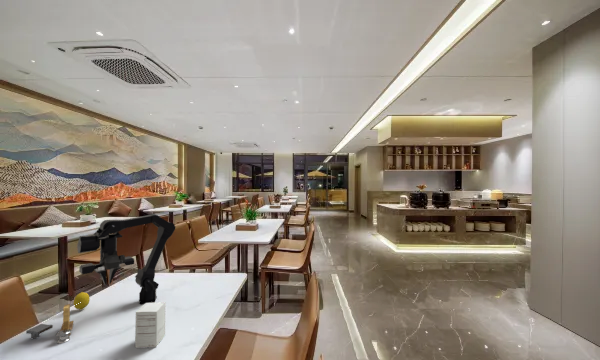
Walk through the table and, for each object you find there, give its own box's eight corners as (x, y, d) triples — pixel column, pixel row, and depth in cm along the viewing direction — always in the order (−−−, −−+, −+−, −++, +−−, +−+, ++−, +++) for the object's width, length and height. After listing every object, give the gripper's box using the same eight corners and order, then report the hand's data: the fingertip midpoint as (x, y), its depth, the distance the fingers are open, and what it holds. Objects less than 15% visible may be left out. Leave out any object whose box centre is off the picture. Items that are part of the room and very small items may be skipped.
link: (70, 335, 94) (71, 308, 95) (58, 338, 93) (59, 311, 93) (73, 324, 102) (74, 299, 102) (62, 327, 100) (63, 301, 100)
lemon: (80, 313, 112) (80, 295, 112) (69, 312, 113) (70, 294, 113) (92, 307, 117) (93, 290, 117) (82, 306, 118) (83, 289, 118)
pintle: (73, 336, 95) (73, 328, 95) (68, 342, 91) (68, 334, 91) (59, 338, 93) (59, 330, 93) (53, 345, 89) (53, 336, 90)
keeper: (52, 334, 95) (52, 325, 96) (37, 342, 91) (38, 331, 91) (40, 333, 96) (41, 323, 96) (25, 341, 92) (26, 330, 92)
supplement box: (145, 336, 95) (146, 302, 95) (165, 335, 96) (166, 301, 96) (134, 348, 88) (134, 311, 88) (156, 347, 88) (157, 311, 89)
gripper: (85, 256, 100) (84, 296, 99) (138, 247, 114) (138, 282, 114) (79, 251, 107) (78, 288, 106) (130, 244, 121) (129, 276, 121)
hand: (107, 284), depth 112 cm, fingers closed
